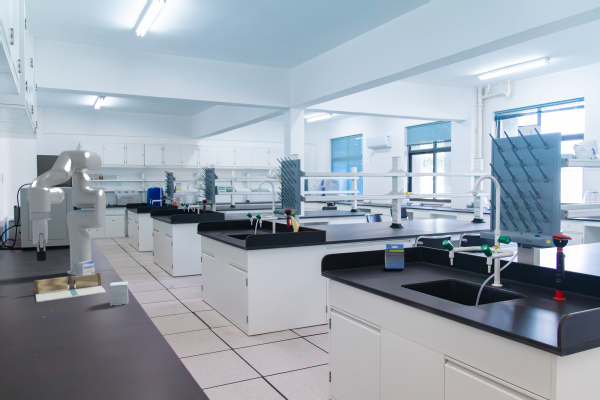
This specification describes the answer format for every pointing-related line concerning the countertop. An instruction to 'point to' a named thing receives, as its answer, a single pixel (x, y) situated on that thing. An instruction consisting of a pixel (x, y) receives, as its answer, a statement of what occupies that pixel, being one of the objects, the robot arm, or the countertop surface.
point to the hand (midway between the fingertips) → (41, 260)
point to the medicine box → (84, 268)
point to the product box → (118, 293)
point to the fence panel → (50, 285)
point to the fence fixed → (85, 281)
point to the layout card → (69, 293)
